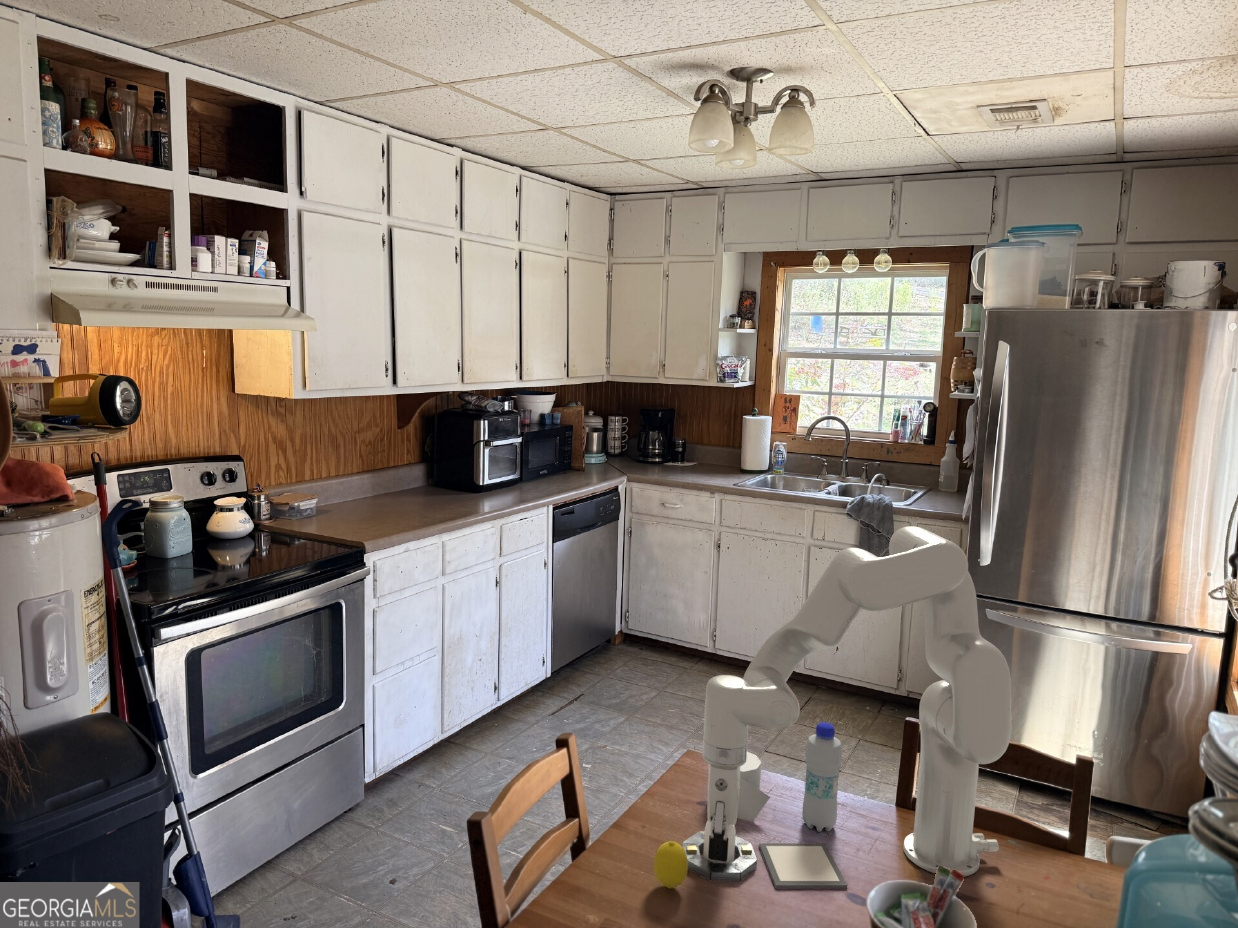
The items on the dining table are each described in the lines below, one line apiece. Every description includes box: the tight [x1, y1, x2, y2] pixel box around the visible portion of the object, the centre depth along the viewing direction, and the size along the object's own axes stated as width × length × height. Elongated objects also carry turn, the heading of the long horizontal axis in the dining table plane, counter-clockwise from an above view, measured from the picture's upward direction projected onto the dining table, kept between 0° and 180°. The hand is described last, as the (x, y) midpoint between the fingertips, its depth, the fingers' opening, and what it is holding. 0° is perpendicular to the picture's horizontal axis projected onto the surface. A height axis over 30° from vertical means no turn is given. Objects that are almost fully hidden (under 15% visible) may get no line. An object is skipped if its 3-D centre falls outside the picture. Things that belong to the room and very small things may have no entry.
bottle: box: [801, 721, 843, 833], centre depth 153 cm, size 7×7×20 cm
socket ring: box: [681, 830, 758, 883], centre depth 142 cm, size 12×12×2 cm
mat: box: [758, 842, 848, 890], centre depth 141 cm, size 12×12×1 cm
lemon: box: [653, 840, 689, 889], centre depth 134 cm, size 6×6×8 cm
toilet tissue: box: [737, 751, 771, 822], centre depth 160 cm, size 9×13×9 cm
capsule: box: [702, 815, 737, 863], centre depth 142 cm, size 5×5×8 cm
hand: (719, 848), depth 142 cm, fingers closed on capsule, 5 cm apart
